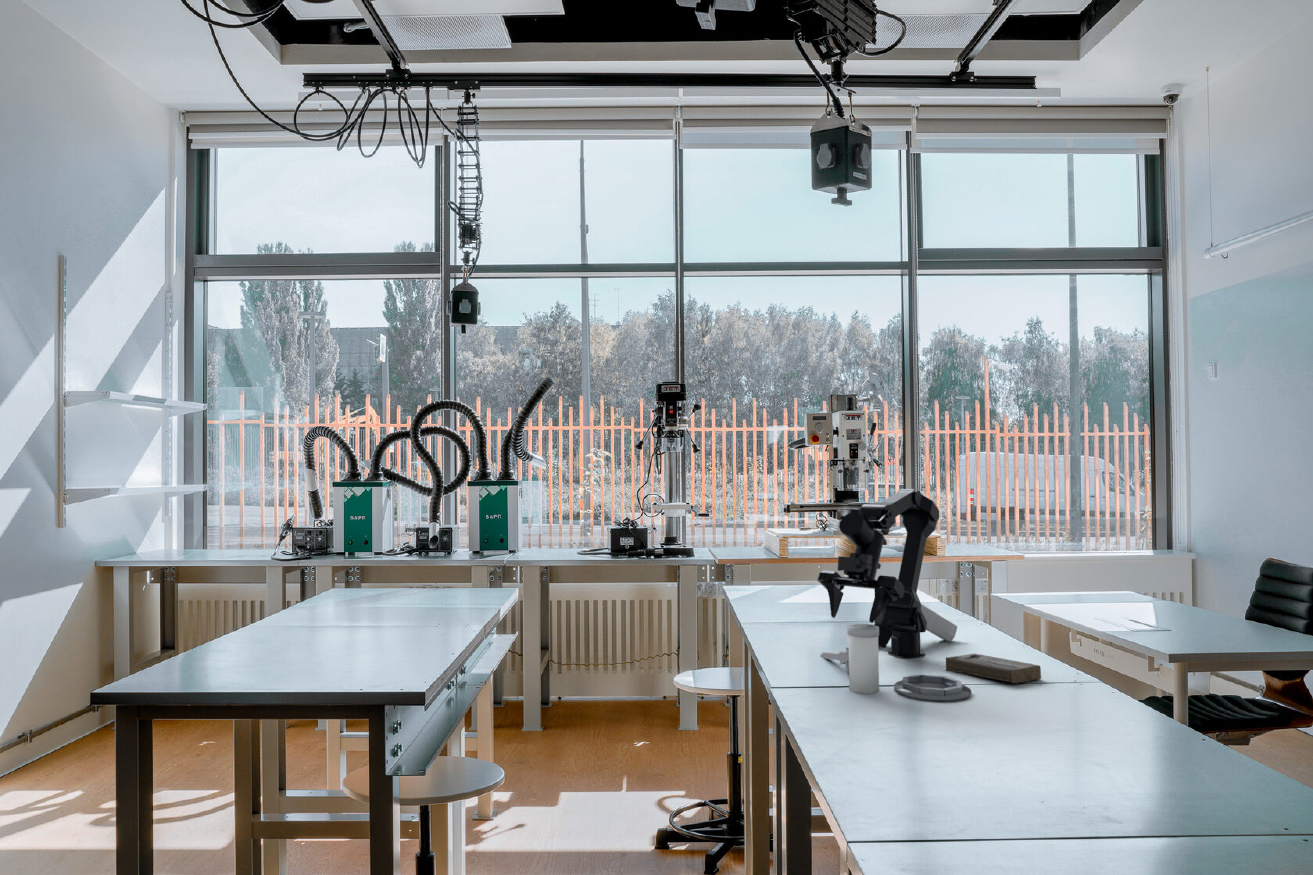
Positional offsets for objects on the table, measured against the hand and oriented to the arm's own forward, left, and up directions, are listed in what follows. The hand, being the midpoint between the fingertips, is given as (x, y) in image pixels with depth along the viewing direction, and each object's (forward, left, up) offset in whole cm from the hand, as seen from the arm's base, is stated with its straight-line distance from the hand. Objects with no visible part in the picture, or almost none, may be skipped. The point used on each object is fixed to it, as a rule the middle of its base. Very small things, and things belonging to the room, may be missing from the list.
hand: (851, 619), depth 182 cm
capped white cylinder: (+4, +9, -13) cm, 16 cm away
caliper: (-4, -10, -13) cm, 17 cm away
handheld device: (-37, -19, -13) cm, 43 cm away
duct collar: (-7, +17, -13) cm, 22 cm away
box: (-29, +13, -13) cm, 34 cm away
